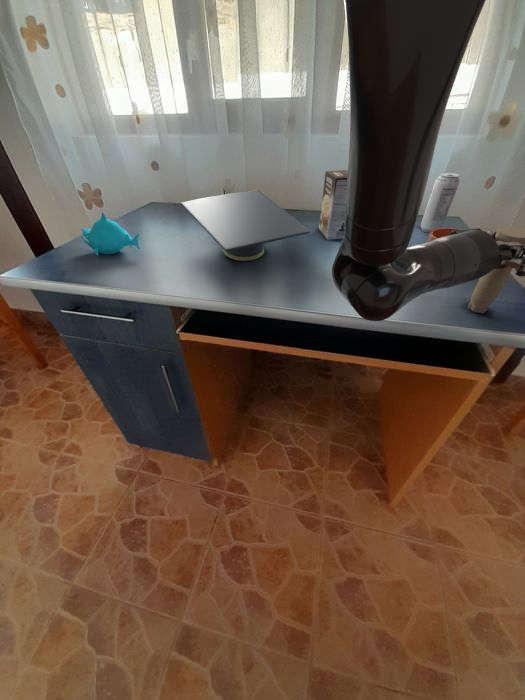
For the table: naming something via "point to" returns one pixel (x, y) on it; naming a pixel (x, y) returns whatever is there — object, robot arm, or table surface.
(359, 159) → the robot arm
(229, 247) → the graduation cap
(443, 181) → the energy drink can
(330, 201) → the coffee box
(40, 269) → the table surface
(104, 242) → the toy shark
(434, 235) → the holder
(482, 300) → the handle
